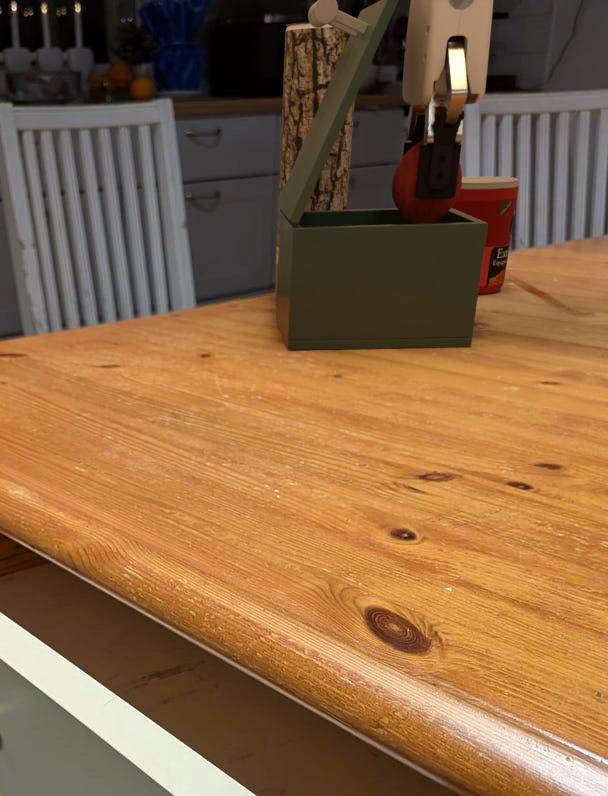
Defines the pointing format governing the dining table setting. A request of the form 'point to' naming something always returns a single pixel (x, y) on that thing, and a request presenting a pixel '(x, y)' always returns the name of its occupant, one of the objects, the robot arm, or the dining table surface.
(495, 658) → the dining table surface
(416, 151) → the onion
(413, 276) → the bin
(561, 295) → the dining table surface
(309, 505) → the dining table surface
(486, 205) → the canned food
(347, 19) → the bin lid
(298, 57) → the bark log
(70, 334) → the dining table surface
